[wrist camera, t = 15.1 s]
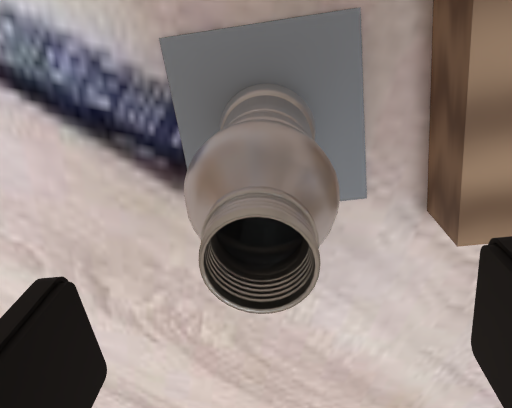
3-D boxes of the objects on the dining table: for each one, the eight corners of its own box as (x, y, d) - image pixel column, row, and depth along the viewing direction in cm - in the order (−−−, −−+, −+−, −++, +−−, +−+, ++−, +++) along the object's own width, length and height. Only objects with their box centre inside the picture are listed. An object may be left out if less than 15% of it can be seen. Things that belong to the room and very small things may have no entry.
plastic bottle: (291, 177, 32) (316, 374, 14) (211, 145, 31) (124, 309, 13) (327, 100, 30) (416, 217, 11) (241, 64, 29) (186, 124, 10)
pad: (161, 38, 29) (159, 38, 28) (358, 7, 28) (360, 7, 27) (198, 213, 34) (197, 216, 34) (365, 195, 33) (366, 198, 32)
